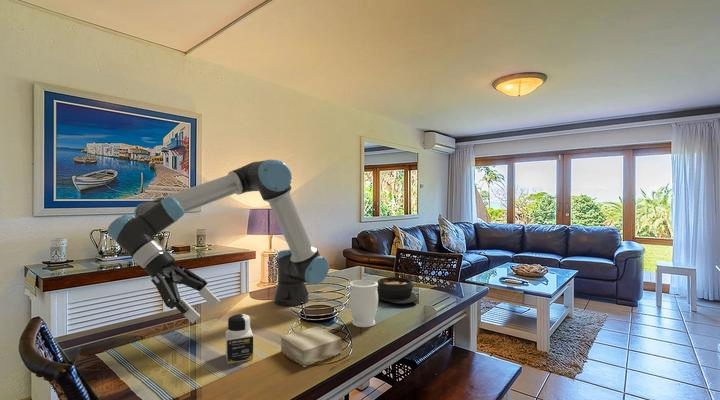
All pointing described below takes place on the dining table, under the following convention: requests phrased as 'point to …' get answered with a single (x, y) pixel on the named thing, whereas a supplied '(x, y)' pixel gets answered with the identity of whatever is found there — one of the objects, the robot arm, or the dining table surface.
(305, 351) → the birch block
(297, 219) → the robot arm
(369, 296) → the jar
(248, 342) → the medicine bottle
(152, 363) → the dining table surface
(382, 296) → the casserole
